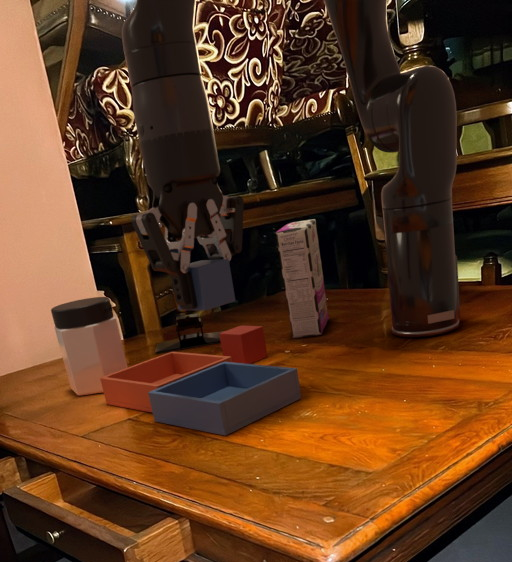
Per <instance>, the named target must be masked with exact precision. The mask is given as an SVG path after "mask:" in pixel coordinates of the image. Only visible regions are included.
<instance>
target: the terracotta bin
mask: <svg viewBox="0 0 512 562" xmlns="http://www.w3.org/2000/svg"><path fill="white" fill-rule="evenodd" d="M222 362H232V358H231V357H229V356H223V355H216V354H206V353H192V352H181V351H170V352H166V353H163V354H162V355H159V356H156V357H153V358H151V359H147V360H145V361H142V362H140V363H137V364H134V365H131V366H127V367H128V368H126V369H123V370H120V371H118V372H115V373H112V374H109V375H107V376H104V377H101V378H100V380H101V384H102V388H103V395H104V400H105V403H106V405H110V406H114V407H115V406H116V407H119V408H125V409H126V408H127V409H130V410H137V411H142V412H148V413H151V414H153V412H152V407H151V403H150V398H149V394H148V392H150V391H153V390H155V389H158V388H160V387H163V386H165V385H168V384H170V383H173V382H175V381H178V380H180V379H183V378H185V377H187V376H190V375H192V374H195V373H197V372H200V371H202V370H205V369H207V368H210V367H212V366H215V365H217V364H220V363H222Z"/></svg>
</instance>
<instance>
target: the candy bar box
mask: <svg viewBox="0 0 512 562" xmlns="http://www.w3.org/2000/svg"><path fill="white" fill-rule="evenodd" d="M275 235H276V236H275V237H276V242H277V248H278V253H279V260H280V267H281V273H282V280H283V285H284V290H285V297H286V304H287V305H286V306H287V310H288V317H289V323H290V324H289V325H290V331H291V337H292V338H293V339H303V338H310V337H311V338H312V337H317V336H322V335H323V333H324V330H325V328H326V326H327V324H328V321H329V319H330V316H329V308H328V301H327V296H326V287H325V280H324V272H323V266H322V265H323V264H322V258H321V251H320V245H319V235H318V229H317V221H316V219H315V218H313V219H305V220H299V221H293V222H289V223H287V224H285V225H284V226H282V227H281V228H279V229H278V230H277V231H276V232H275Z"/></svg>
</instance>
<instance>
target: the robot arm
mask: <svg viewBox="0 0 512 562" xmlns="http://www.w3.org/2000/svg"><path fill="white" fill-rule="evenodd" d="M322 1H323V4H324V6H325V9H326V12H327V15H328V18H329V21H330V23H331V26H332V30H333V33H334V35H335V39H336V40H337V44H338V47H339V49H340V53H341V55H342V59H343V63H344V65H345V69H346V74H347V78H348V81H349V84H350V88H351V91H352V96H353V99H354V102H355V108H356V110H357V114H358V117H359V120H360V124H361V126H362V129H363V132H364V133H365V135H366V138H367V139H368V140H369V142H370V143H371V144H372V146H374V147H375V148H376V149H377V150H379V151H381V152H383V153H388V154H389V153H391V154H392V153H399V155H398V156H399V157H398V159H399V161H398V168H397V171H396V173H395V175H394V176H393V178H391V180H389V181H388V182H386V184H385V185H383V186H382V188H381V191H380V203H381V214H382V225H383V237H384V247H385V257H386V270H387V280H388V291H389V293H388V294H389V304H390V315H391V333H392V334H393V336H397V337H401V338H426V337H432V336H438V335H443V334H447V333H449V332H452V331H454V330H457V329H458V328H459V327H460V322H461V306H460V305H461V304H460V290H459V289H460V288H459V287H460V284H459V270H458V267H459V266H458V256H457V255H456V247H455V232H454V231H455V229H454V214H453V183H454V181H455V178H456V173H457V162H458V161H457V160H458V159H457V156H458V155H457V152H458V151H457V149H458V148H457V147H458V146H457V142H458V140H457V135H458V133H457V132H458V131H457V129H458V127H457V126H458V125H457V123H458V122H457V120H458V119H457V117H458V116H457V102H456V96H455V91H454V88H453V85H452V83H451V81H450V78H449V76H448V75H447V74H446V73H445V72H444V71H443V70H442V69H441V68H440V67H437V66H433V65H421V66H417V67H413V68H411V69H410V68H409V69H408V70H404V71H402V70H401V68H400V66H399V63H398V60H397V57H396V55H395V52H394V48H393V45H392V42H391V39H390V34H389V28H388V27H389V26H388V17H387V16H388V15H387V8H388V0H322ZM196 6H197V0H136V3H135V7H134V8H133V10H132V11H131V13H130V14H129V15H128V16H127V18H126V19H125V20H124V22H123V24H122V28H121V41H122V47H123V53H124V59H125V64H126V68H127V69H126V70H127V74H128V78H129V84H130V87H131V88H130V89H131V96H132V110H133V117H134V123H135V127H136V132H137V137H138V142H139V148H140V151H141V152H140V153H141V157H142V162H143V167H144V171H145V176H146V182H147V184H148V186H149V187H150V188H151V190H152V193H153V194H152V195H153V198H152V204H151V207H150V208H149V209H148V210H146V211H145V212H143V213H137V214H133V215H132V216H131V221H130V222H131V225H132V227H133V229H134V231H135V233H136V235H137V236H136V237H138V240H139V243H140V245H141V247H142V249H143V251H144V253H145V255H146V257H147V260H148V263H149V264H150V266H151V269H152V270H153V271H155V272H161V273H162V272H163V273H167V274H168V275H169V277H170V280H171V284H172V290H173V295H174V301H175V302H176V304H177V306H178V305H180V308H181V309H183V310H182V311H192V310H191V309H194V308H196V307H197V300H196V295H195V290H194V284H193V279H192V274H191V273H188V272H189V270H190V263H191V253H192V251H193V250H194V248H195V239H196V240H197V242H198V243H199V245H201V246H202V247H203V249H204V251H205V254H206V255H207V256H206V257H207V258H208V260H218V259H229V262H231V260H232V258H233V256H234V255H236V254H240V253H241V252H242V251H243V236H244V235H243V232H244V209H245V208H244V207H245V206H244V205H245V202H244V198H243V196H241V195H236V196H234V195H233V196H229V195H225V194H223V191H222V190H221V189H220V186H219V184H218V177H219V176H220V175H221V166H220V160H219V155H218V149H217V142H216V136H215V130H214V124H213V117H212V112H211V105H210V101H209V97H208V94H207V90H206V87H205V83H204V78H203V76H202V75H203V73H202V66H201V61H200V55H199V54H200V53H199V49H198V43H197V38H196V33H195V20H196V19H195V18H196V9H197V7H196ZM163 226H164V233H163V231H162V228H163Z"/></svg>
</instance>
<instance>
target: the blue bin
mask: <svg viewBox="0 0 512 562" xmlns="http://www.w3.org/2000/svg"><path fill="white" fill-rule="evenodd" d="M148 394H149V398H150V403H151V407H152V412H153V413H152V412H151V413H152V415H153V420H154V422H155V423H161V424H165V425H171V426H176V427H182V428H185V429H189V430H190V429H191V430H194V431H195V430H196V431H201V432H205V433H210V434H213V435H214V434H215V435H220V436H225V437H227V436H228V435H230V434H232V433H235V432H237V431H238V430H240V429H242V428H244V427H246V426H248V425H251V424H252V423H255V422H257V421H258V420H260V419H263V418H265V417H266V416H268V415H270V414H273V413H274V412H276V411H278V410H281V409H283V408H284V407H287V406H288V405H291V404H292V403H295V402H297V401H299V400H300V399H302V393H301V385H300V379H299V371H298V368H296V367H286V366H275V365H267V364H266V365H264V364H254V363H251V364H244V363H234V362H222V363H220V364H217V365H215V366H212V367H210V368H207V369H205V370H202V371H200V372H197V373H195V374H192V375H190V376H187V377H185V378H183V379H180V380H178V381H175V382H173V383H170V384H168V385H165V386H163V387H160V388H158V389H155V390H153V391H150V392H148Z"/></svg>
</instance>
